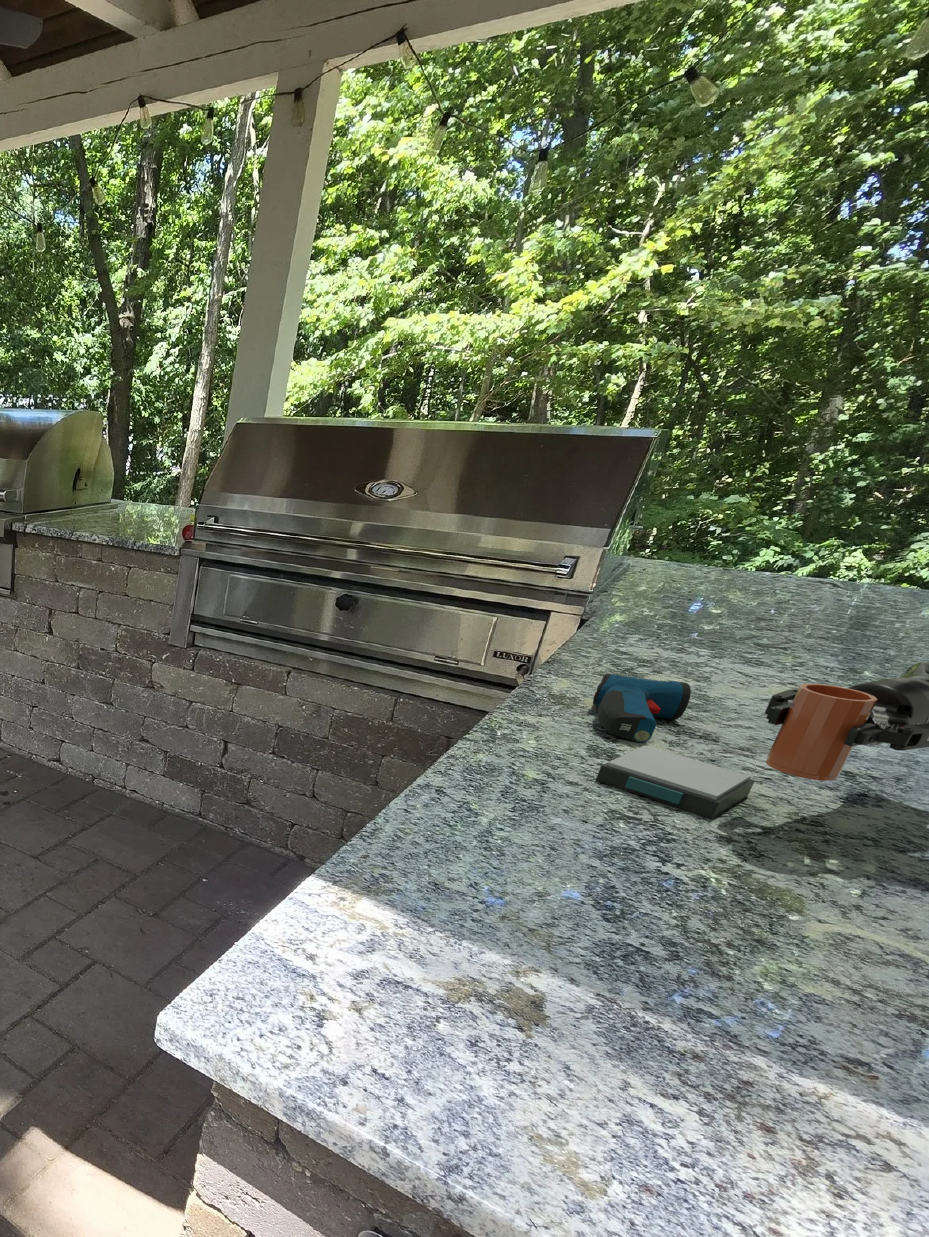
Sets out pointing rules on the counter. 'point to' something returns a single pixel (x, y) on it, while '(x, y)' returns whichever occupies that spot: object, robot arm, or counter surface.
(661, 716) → the infrared thermometer
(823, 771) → the cup
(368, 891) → the counter surface
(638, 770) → the scale
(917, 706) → the robot arm
